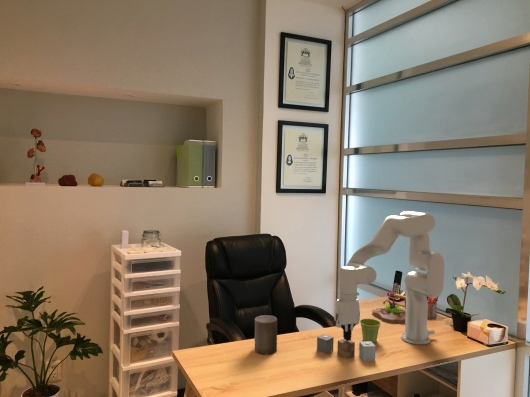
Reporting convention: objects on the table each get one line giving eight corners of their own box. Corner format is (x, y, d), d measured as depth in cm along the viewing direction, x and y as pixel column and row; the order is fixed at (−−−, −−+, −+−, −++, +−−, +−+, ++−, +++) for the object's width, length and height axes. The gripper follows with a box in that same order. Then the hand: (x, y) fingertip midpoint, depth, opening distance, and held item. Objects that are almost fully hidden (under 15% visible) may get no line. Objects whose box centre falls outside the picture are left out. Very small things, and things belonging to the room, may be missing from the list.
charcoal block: (323, 347, 182) (324, 333, 182) (333, 350, 178) (333, 336, 178) (316, 350, 178) (317, 336, 178) (326, 354, 175) (326, 339, 174)
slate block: (370, 355, 175) (371, 340, 174) (375, 360, 170) (375, 345, 169) (359, 355, 174) (359, 341, 174) (363, 360, 169) (363, 345, 169)
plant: (420, 322, 217) (421, 301, 216) (388, 325, 211) (389, 303, 210) (397, 310, 236) (398, 290, 235) (367, 312, 230) (368, 293, 229)
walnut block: (346, 352, 177) (346, 338, 177) (354, 356, 173) (354, 342, 173) (337, 354, 175) (337, 340, 175) (345, 359, 171) (345, 344, 170)
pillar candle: (281, 351, 176) (281, 317, 176) (261, 356, 171) (262, 320, 171) (269, 344, 185) (269, 310, 184) (250, 348, 180) (250, 314, 179)
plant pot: (381, 345, 185) (381, 326, 184) (359, 343, 187) (359, 324, 186) (379, 337, 194) (380, 319, 193) (358, 335, 196) (359, 317, 195)
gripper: (357, 292, 179) (357, 333, 180) (327, 295, 174) (327, 338, 175) (368, 297, 172) (367, 340, 173) (337, 301, 167) (336, 345, 168)
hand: (347, 339), depth 174 cm, fingers closed
